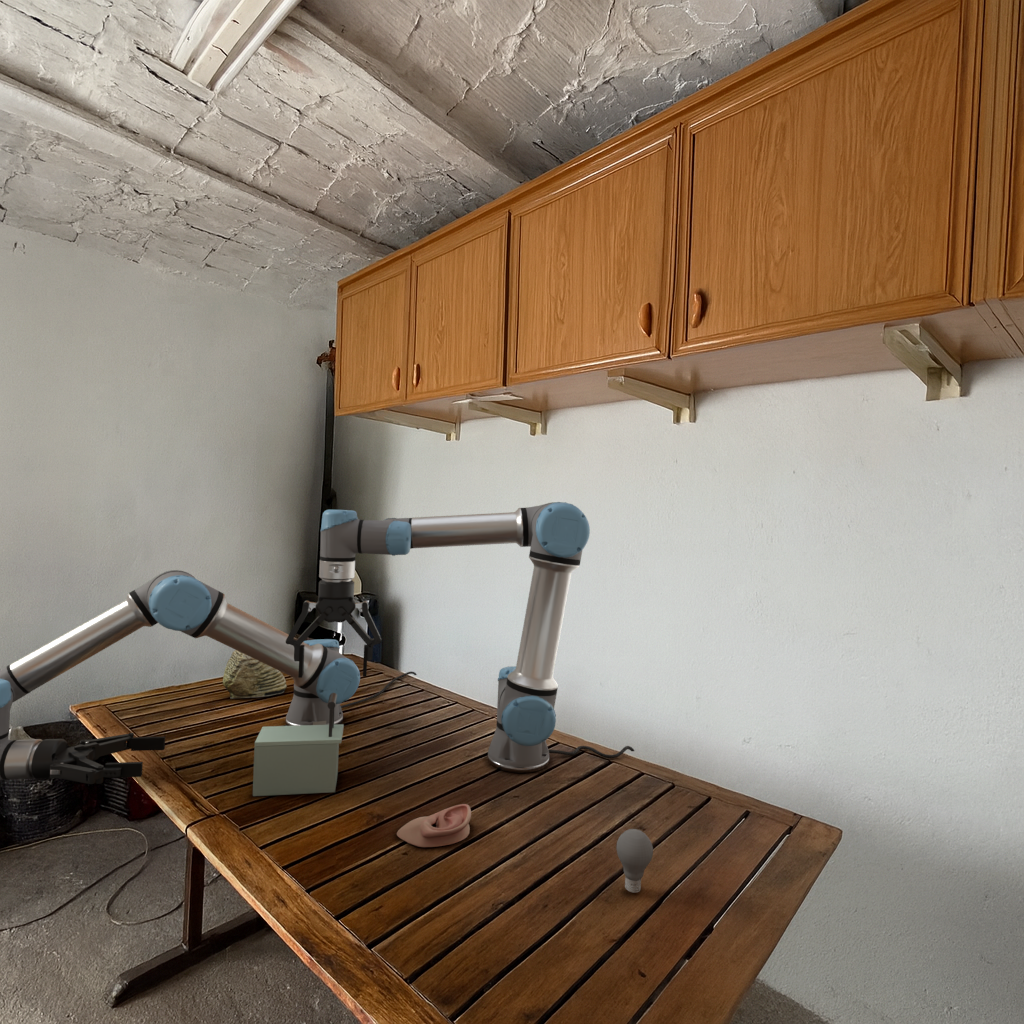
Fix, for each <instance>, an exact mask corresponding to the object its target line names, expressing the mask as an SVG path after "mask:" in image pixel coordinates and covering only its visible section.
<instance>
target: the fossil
mask: <svg viewBox="0 0 1024 1024" xmlns="http://www.w3.org/2000/svg"><path fill="white" fill-rule="evenodd" d="M222 676H223V677H222V685H223V687H224V688H225V690H226V691H228V693H229V698H230V699H250V698H264V697H271V696H275V695H281V694H284V693H285V691H286V689H287V687H288V686H287V680H286V678H285V676H284V674H283V672H281V671H279V670H277V669H275V668H273V667H271V666H268V665H266V664H264V663H262V662H260V661H258V660H256V659H254V658H252V657H250V656H248V655H245V654H243V653H241V652H239V651H237V650H235V649H234V650H233V651H232V653H231V656H230V657H229V659H228V660H227V663H226V666H225V668H224V671H223V675H222Z"/></svg>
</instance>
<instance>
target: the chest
mask: <svg viewBox="0 0 1024 1024" xmlns="http://www.w3.org/2000/svg"><path fill="white" fill-rule="evenodd" d="M253 748H254V752H253V753H254V754H253V774H252V775H253V776H252V777H253V779H252V797H265V796H267V797H269V796H285V795H286V796H287V795H304V794H306V795H307V794H327V793H336V787H337V783H338V782H337V781H338V776H339V775H338V774H339V754H340V753H339V752H340V751H339V750H340V743H338V744H308V745H279V746H255V745H254V747H253Z"/></svg>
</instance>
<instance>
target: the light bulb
mask: <svg viewBox="0 0 1024 1024" xmlns="http://www.w3.org/2000/svg"><path fill="white" fill-rule="evenodd" d="M615 849H616V854H617V857H618V859H619V861H620V863H621V865H622V867H623V873H624V874H623V875H624V876H625V878H624V888H625V890H627V891H628V892H630V893H634V894H635V893H639V892H640V891H641V889H642V887H641V886H642V879H643V877H644V875H645V871H646V868H647V867H648V866H649V864H650V863H651V861H652V859H653V855H654V847H653V843H652V841H651V838H649V836H648V835H647V834H646V833H645V832H643V831H642V830H641V829H636V828H629V829H627V830H625V831H623V832H622V833H621V834H620V835H619V837H618V839H617V841H616V847H615Z"/></svg>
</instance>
